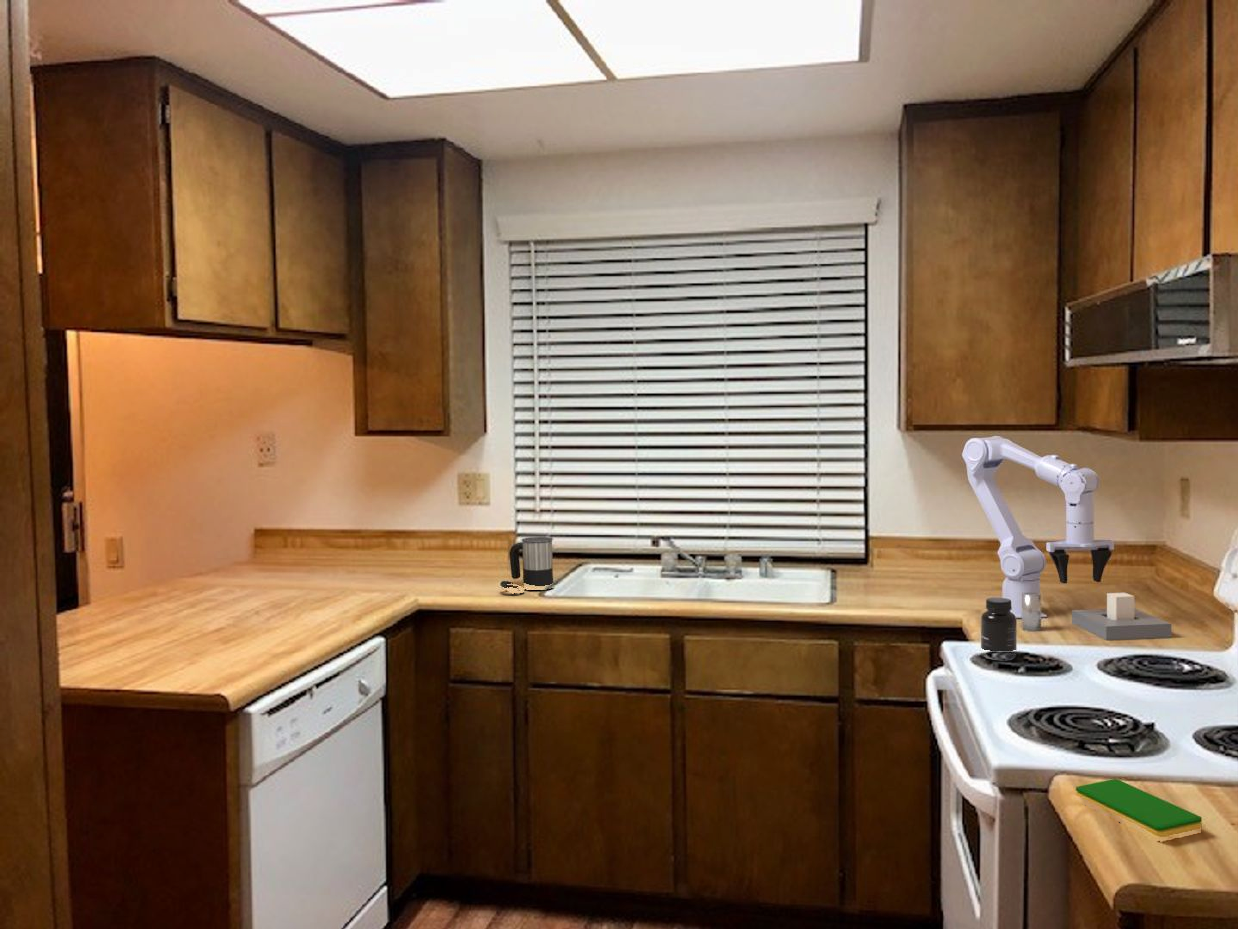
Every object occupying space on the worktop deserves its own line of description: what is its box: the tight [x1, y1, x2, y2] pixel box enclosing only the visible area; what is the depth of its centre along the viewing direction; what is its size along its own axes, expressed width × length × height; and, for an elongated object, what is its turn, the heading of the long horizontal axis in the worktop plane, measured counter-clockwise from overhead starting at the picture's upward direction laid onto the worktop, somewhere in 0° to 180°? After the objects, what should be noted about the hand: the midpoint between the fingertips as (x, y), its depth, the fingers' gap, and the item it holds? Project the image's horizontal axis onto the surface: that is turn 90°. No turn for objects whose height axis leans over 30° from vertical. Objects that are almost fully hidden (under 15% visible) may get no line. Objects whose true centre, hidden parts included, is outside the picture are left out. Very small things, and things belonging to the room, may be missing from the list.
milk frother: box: [499, 536, 554, 589], centre depth 295 cm, size 14×16×15 cm
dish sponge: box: [1075, 778, 1203, 837], centre depth 131 cm, size 7×14×2 cm, turn 19°
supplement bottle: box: [980, 597, 1018, 651], centre depth 207 cm, size 7×7×12 cm
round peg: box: [1021, 592, 1042, 632], centre depth 229 cm, size 4×4×8 cm
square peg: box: [1106, 592, 1135, 620], centre depth 225 cm, size 4×4×8 cm
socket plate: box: [1071, 608, 1172, 641], centre depth 225 cm, size 16×14×3 cm
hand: (1080, 582), depth 231 cm, fingers open, 7 cm apart
